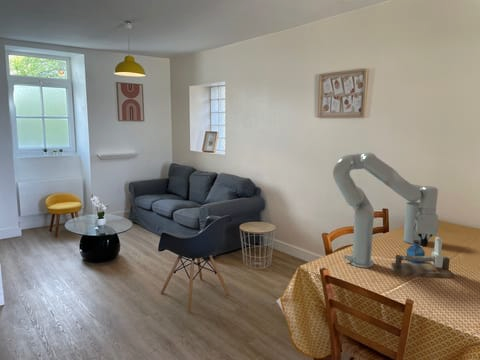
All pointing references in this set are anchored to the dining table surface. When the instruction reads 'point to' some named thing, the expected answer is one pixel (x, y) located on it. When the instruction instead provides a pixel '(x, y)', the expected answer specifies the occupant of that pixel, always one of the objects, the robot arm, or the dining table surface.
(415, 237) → the cylinder vase
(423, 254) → the perfume bottle
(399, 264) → the pipe stand
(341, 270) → the dining table surface
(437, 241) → the white l-shaped bracket
